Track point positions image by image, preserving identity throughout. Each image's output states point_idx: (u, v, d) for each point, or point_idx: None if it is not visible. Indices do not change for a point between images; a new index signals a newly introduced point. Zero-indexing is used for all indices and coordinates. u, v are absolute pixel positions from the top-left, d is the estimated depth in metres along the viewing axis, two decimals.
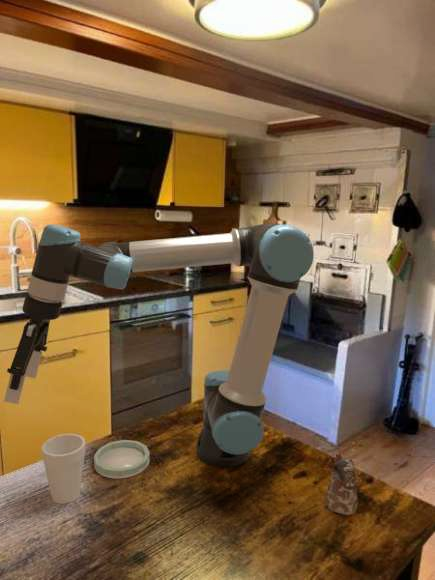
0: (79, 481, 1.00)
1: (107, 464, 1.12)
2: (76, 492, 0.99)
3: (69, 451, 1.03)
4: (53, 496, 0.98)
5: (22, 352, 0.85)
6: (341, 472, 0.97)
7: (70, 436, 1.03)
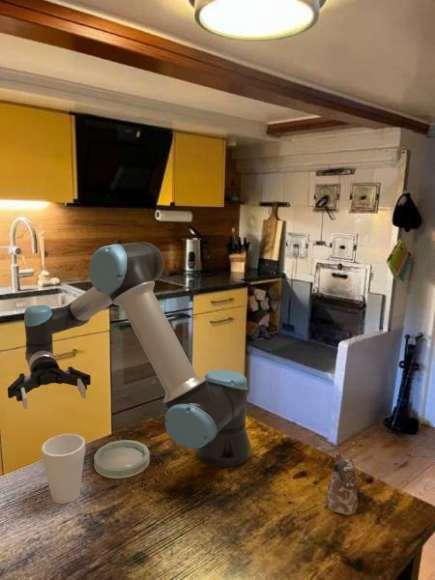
0: (79, 481, 1.00)
1: (107, 464, 1.12)
2: (76, 492, 0.99)
3: (69, 451, 1.03)
4: (53, 496, 0.98)
5: None
6: (341, 472, 0.97)
7: (70, 436, 1.03)
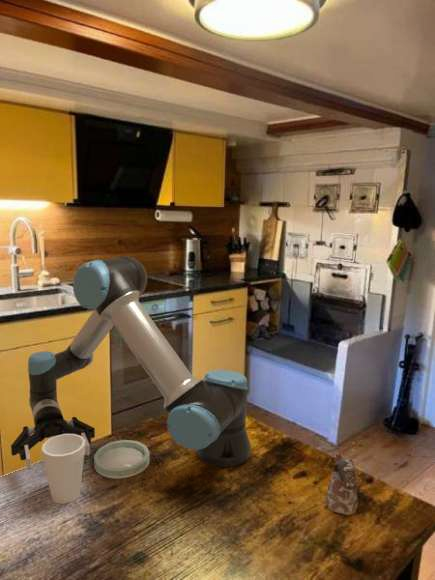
0: (79, 481, 1.00)
1: (107, 464, 1.12)
2: (76, 492, 0.99)
3: (69, 451, 1.03)
4: (53, 496, 0.98)
5: None
6: (341, 472, 0.97)
7: (70, 436, 1.03)
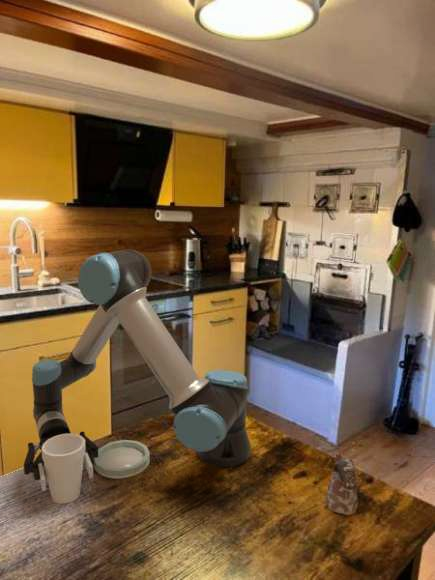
0: (79, 481, 1.00)
1: (107, 464, 1.12)
2: (76, 492, 0.99)
3: (69, 451, 1.03)
4: (53, 496, 0.98)
5: None
6: (341, 472, 0.97)
7: (70, 436, 1.03)
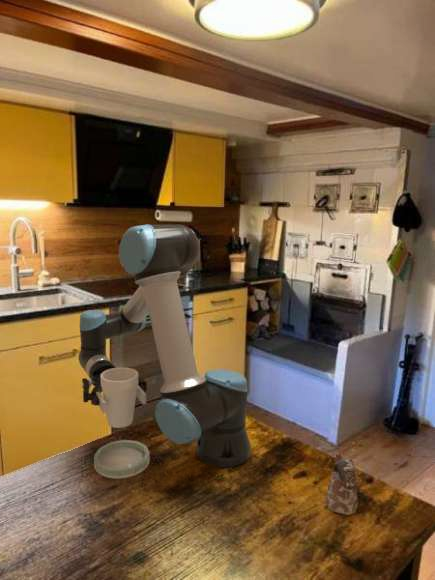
0: (133, 408, 1.10)
1: (107, 464, 1.12)
2: (130, 418, 1.10)
3: None
4: (110, 421, 1.09)
5: None
6: (341, 472, 0.97)
7: (123, 369, 1.13)
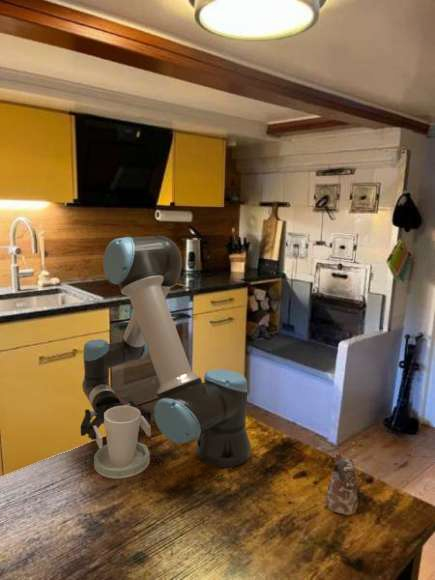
0: (134, 447, 1.13)
1: (107, 464, 1.12)
2: (131, 456, 1.13)
3: (124, 421, 1.16)
4: (112, 459, 1.11)
5: None
6: (341, 472, 0.97)
7: (126, 408, 1.16)
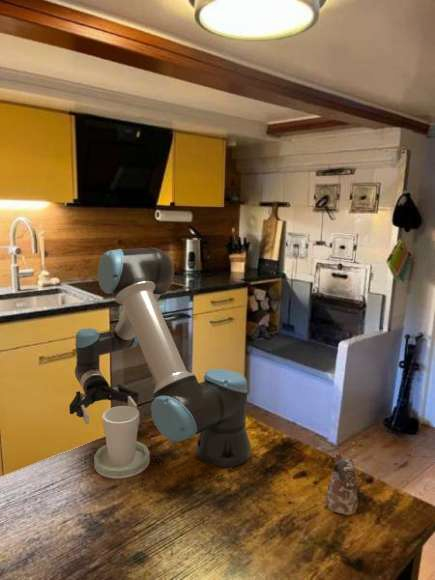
0: (134, 447, 1.13)
1: (107, 464, 1.12)
2: (131, 456, 1.13)
3: (123, 421, 1.16)
4: (112, 459, 1.12)
5: None
6: (341, 472, 0.97)
7: (125, 408, 1.16)
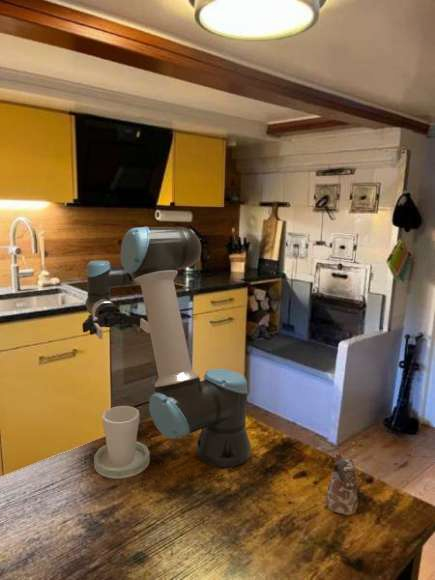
0: (134, 447, 1.13)
1: (107, 464, 1.12)
2: (131, 456, 1.13)
3: (123, 421, 1.16)
4: (112, 459, 1.12)
5: None
6: (341, 472, 0.97)
7: (124, 408, 1.16)
